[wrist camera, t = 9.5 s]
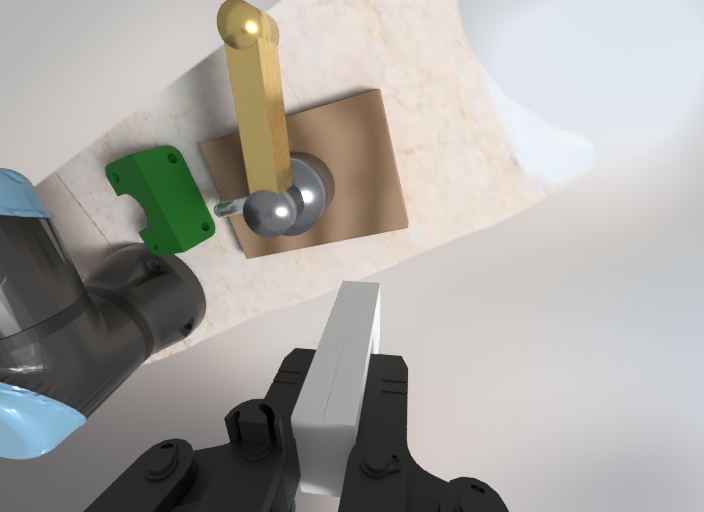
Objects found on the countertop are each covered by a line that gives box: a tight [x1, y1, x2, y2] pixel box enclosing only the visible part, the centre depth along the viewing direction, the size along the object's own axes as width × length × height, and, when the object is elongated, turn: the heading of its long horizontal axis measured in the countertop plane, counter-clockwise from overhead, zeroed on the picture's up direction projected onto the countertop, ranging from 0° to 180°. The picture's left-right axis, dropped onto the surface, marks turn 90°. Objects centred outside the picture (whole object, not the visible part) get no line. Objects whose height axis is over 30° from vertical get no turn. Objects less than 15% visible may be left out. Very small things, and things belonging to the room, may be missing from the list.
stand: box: [199, 89, 408, 259], centre depth 38 cm, size 20×14×2 cm
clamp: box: [105, 146, 215, 256], centre depth 40 cm, size 12×6×9 cm, turn 11°
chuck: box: [214, 152, 335, 236], centre depth 35 cm, size 13×7×6 cm, turn 104°
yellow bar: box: [217, 0, 304, 238], centre depth 27 cm, size 16×4×4 cm, turn 2°
